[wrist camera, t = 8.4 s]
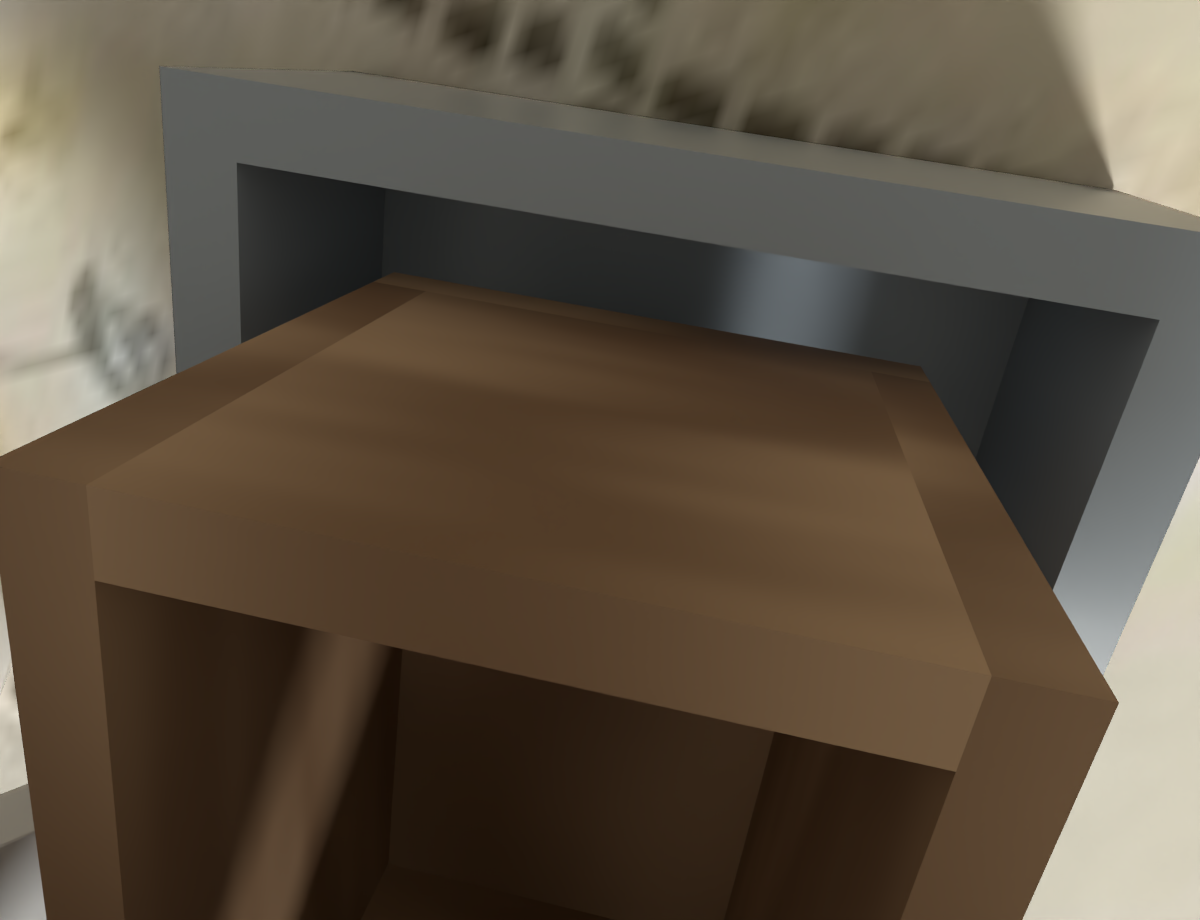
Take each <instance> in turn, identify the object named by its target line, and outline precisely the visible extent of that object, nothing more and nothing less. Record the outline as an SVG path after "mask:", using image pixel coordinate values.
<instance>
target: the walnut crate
mask: <svg viewBox="0 0 1200 920" xmlns="http://www.w3.org/2000/svg"><path fill="white" fill-rule="evenodd" d="M0 578H1V585H2V593H3V600H4V608H5V615H6V622H7V630H8V637H9V645H10V652H11V659H12V667H13V674H14V682H15V689H16V697H17V704H18V711H19V719H20V726H21V734H22V741H23V748H24V756H25V763H26V771H27V778H28V785H29V793H30V800H31V808H32V815H33V822H34V830H35V837H36V845H37V852H38V859H39V867H40V874H41V882H42V889H43V896H44V904H45V911H46V919H47V920H1022V919H1023V917H1024V914H1025V912H1026V910H1027V908H1028V905H1029V903H1030V901H1031V899H1032V897H1033V894H1034V892H1035V890H1036V888H1037V885H1038V883H1039V881H1040V879H1041V876H1042V874H1043V872H1044V870H1045V867H1046V865H1047V863H1048V861H1049V858H1050V856H1051V854H1052V852H1053V849H1054V847H1055V845H1056V843H1057V840H1058V838H1059V836H1060V834H1061V831H1062V829H1063V827H1064V825H1065V822H1066V820H1067V818H1068V816H1069V814H1070V811H1071V809H1072V807H1073V805H1074V802H1075V800H1076V798H1077V796H1078V793H1079V791H1080V789H1081V787H1082V784H1083V782H1084V780H1085V778H1086V775H1087V773H1088V771H1089V769H1090V766H1091V764H1092V762H1093V760H1094V757H1095V755H1096V753H1097V751H1098V748H1099V746H1100V744H1101V742H1102V739H1103V737H1104V735H1105V733H1106V730H1107V728H1108V726H1109V724H1110V722H1111V719H1112V717H1113V715H1114V713H1115V710H1116V708H1117V706H1118V704H1119V702H1118V701H1117V699H1116V697H1115V695H1114V694H1113V692H1112V690H1111V689H1110V687H1109V685H1108V684H1107V682H1106V680H1105V678H1104V677H1103V675H1102V673H1101V672H1100V670H1099V668H1098V667H1097V665H1096V663H1095V662H1094V660H1093V658H1092V656H1091V655H1090V653H1089V651H1088V650H1087V648H1086V646H1085V645H1084V643H1083V641H1082V639H1081V638H1080V636H1079V634H1078V633H1077V631H1076V629H1075V628H1074V626H1073V624H1072V622H1071V621H1070V619H1069V617H1068V616H1067V614H1066V612H1065V611H1064V609H1063V607H1062V605H1061V604H1060V602H1059V600H1058V599H1057V597H1056V595H1055V594H1054V592H1053V590H1052V588H1051V587H1050V585H1049V583H1048V582H1047V580H1046V578H1045V577H1044V575H1043V573H1042V571H1041V570H1040V568H1039V566H1038V565H1037V563H1036V561H1035V560H1034V558H1033V556H1032V554H1031V553H1030V551H1029V549H1028V548H1027V546H1026V544H1025V543H1024V541H1023V539H1022V538H1021V536H1020V534H1019V532H1018V531H1017V529H1016V527H1015V526H1014V524H1013V522H1012V521H1011V519H1010V517H1009V515H1008V514H1007V512H1006V510H1005V509H1004V507H1003V505H1002V504H1001V502H1000V500H999V498H998V497H997V495H996V493H995V492H994V490H993V488H992V487H991V485H990V483H989V481H988V480H987V478H986V476H985V475H984V473H983V471H982V470H981V468H980V466H979V464H978V463H977V461H976V459H975V458H974V456H973V454H972V453H971V451H970V449H969V447H968V446H967V444H966V442H965V441H964V439H963V437H962V436H961V434H960V432H959V430H958V429H957V427H956V425H955V424H954V422H953V420H952V419H951V417H950V415H949V414H948V412H947V410H946V408H945V407H944V405H943V403H942V402H941V400H940V398H939V397H938V395H937V393H936V391H935V390H934V388H933V386H932V385H931V383H930V381H929V380H928V378H927V376H926V374H925V373H924V371H923V369H922V368H921V366H916V365H910V364H904V363H899V362H893V361H888V360H882V359H877V358H871V357H865V356H860V355H854V354H849V353H843V352H837V351H832V350H826V349H821V348H815V347H809V346H804V345H798V344H793V343H787V342H782V341H776V340H770V339H765V338H759V337H754V336H748V335H742V334H737V333H731V332H726V331H720V330H715V329H709V328H703V327H698V326H692V325H687V324H681V323H675V322H670V321H664V320H659V319H653V318H647V317H642V316H636V315H631V314H625V313H620V312H614V311H608V310H603V309H597V308H592V307H586V306H580V305H575V304H569V303H564V302H558V301H552V300H547V299H541V298H536V297H530V296H525V295H519V294H513V293H508V292H502V291H497V290H491V289H485V288H480V287H474V286H469V285H463V284H458V283H452V282H446V281H441V280H435V279H430V278H424V277H418V276H413V275H407V274H402V273H396V272H393V273H391V274H389V275H387V276H385V277H383V278H380V279H378V280H376V281H374V282H372V283H370V284H368V285H365V286H363V287H361V288H359V289H357V290H355V291H353V292H350V293H348V294H346V295H344V296H342V297H340V298H338V299H336V300H333V301H331V302H329V303H327V304H325V305H323V306H321V307H318V308H316V309H314V310H312V311H310V312H308V313H306V314H304V315H301V316H299V317H297V318H295V319H293V320H291V321H289V322H286V323H284V324H282V325H280V326H278V327H276V328H274V329H272V330H269V331H267V332H265V333H263V334H261V335H259V336H257V337H254V338H252V339H250V340H248V341H246V342H244V343H242V344H239V345H237V346H235V347H233V348H231V349H229V350H227V351H225V352H222V353H220V354H218V355H216V356H214V357H212V358H210V359H207V360H205V361H203V362H201V363H199V364H197V365H195V366H193V367H190V368H188V369H186V370H184V371H182V372H180V373H178V374H175V375H173V376H171V377H169V378H167V379H165V380H163V381H161V382H158V383H156V384H154V385H152V386H150V387H148V388H146V389H143V390H141V391H139V392H137V393H135V394H133V395H131V396H129V397H126V398H124V399H122V400H120V401H118V402H116V403H114V404H111V405H109V406H107V407H105V408H103V409H101V410H99V411H96V412H94V413H92V414H90V415H88V416H86V417H84V418H82V419H79V420H77V421H75V422H73V423H71V424H69V425H67V426H64V427H62V428H60V429H58V430H56V431H54V432H52V433H50V434H47V435H45V436H43V437H41V438H39V439H37V440H35V441H32V442H30V443H28V444H26V445H24V446H22V447H20V448H18V449H15V450H13V451H11V452H9V453H7V454H5V455H3V456H0Z"/></svg>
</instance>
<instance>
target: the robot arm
mask: <svg viewBox="0 0 1200 920" xmlns="http://www.w3.org/2000/svg"><path fill="white" fill-rule="evenodd" d="M0 920H47V919H46V911H45V904H44V896H43V889H42V882H41V874H40V867H39V859H38V852H37V845H36V837H35V830H34V822H33V815H32V808H31V800H30V793H29V785H28V784H26V785H23V786H21V787H18V788H16V789H13V790H11V791H8V792H5V793H3V794H0Z"/></svg>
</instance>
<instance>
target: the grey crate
mask: <svg viewBox="0 0 1200 920" xmlns="http://www.w3.org/2000/svg"><path fill="white" fill-rule="evenodd" d="M159 67H160V85H161V103H162V121H163V139H164V157H165V175H166V193H167V211H168V229H169V247H170V265H171V283H172V301H173V319H174V337H175V355H176V373H177V374H178V373H180V372H182V371H184V370H186V369H188V368H190V367H193V366H195V365H197V364H199V363H201V362H203V361H205V360H207V359H210V358H212V357H214V356H216V355H218V354H220V353H222V352H225V351H227V350H229V349H231V348H233V347H235V346H237V345H239V344H242V343H244V342H246V341H248V340H250V339H252V338H254V337H257V336H259V335H261V334H263V333H265V332H267V331H269V330H272V329H274V328H276V327H278V326H280V325H282V324H284V323H286V322H289V321H291V320H293V319H295V318H297V317H299V316H301V315H304V314H306V313H308V312H310V311H312V310H314V309H316V308H318V307H321V306H323V305H325V304H327V303H329V302H331V301H333V300H336V299H338V298H340V297H342V296H344V295H346V294H348V293H350V292H353V291H355V290H357V289H359V288H361V287H363V286H365V285H368V284H370V283H372V282H374V281H376V280H378V279H380V278H383V277H385V276H387V275H389V274H391V273H393V272H396V273H402V274H407V275H413V276H418V277H424V278H430V279H435V280H441V281H446V282H452V283H458V284H463V285H469V286H474V287H480V288H485V289H491V290H497V291H502V292H508V293H513V294H519V295H525V296H530V297H536V298H541V299H547V300H552V301H558V302H564V303H569V304H575V305H580V306H586V307H592V308H597V309H603V310H608V311H614V312H620V313H625V314H631V315H636V316H642V317H647V318H653V319H659V320H664V321H670V322H675V323H681V324H687V325H692V326H698V327H703V328H709V329H715V330H720V331H726V332H731V333H737V334H742V335H748V336H754V337H759V338H765V339H770V340H776V341H782V342H787V343H793V344H798V345H804V346H809V347H815V348H821V349H826V350H832V351H837V352H843V353H849V354H854V355H860V356H865V357H871V358H877V359H882V360H888V361H893V362H899V363H904V364H910V365H916V366H921V368H922V369H923V371H924V373H925V374H926V376H927V378H928V380H929V381H930V383H931V385H932V386H933V388H934V390H935V391H936V393H937V395H938V397H939V398H940V400H941V402H942V403H943V405H944V407H945V408H946V410H947V412H948V414H949V415H950V417H951V419H952V420H953V422H954V424H955V425H956V427H957V429H958V430H959V432H960V434H961V436H962V437H963V439H964V441H965V442H966V444H967V446H968V447H969V449H970V451H971V453H972V454H973V456H974V458H975V459H976V461H977V463H978V464H979V466H980V468H981V470H982V471H983V473H984V475H985V476H986V478H987V480H988V481H989V483H990V485H991V487H992V488H993V490H994V492H995V493H996V495H997V497H998V498H999V500H1000V502H1001V504H1002V505H1003V507H1004V509H1005V510H1006V512H1007V514H1008V515H1009V517H1010V519H1011V521H1012V522H1013V524H1014V526H1015V527H1016V529H1017V531H1018V532H1019V534H1020V536H1021V538H1022V539H1023V541H1024V543H1025V544H1026V546H1027V548H1028V549H1029V551H1030V553H1031V554H1032V556H1033V558H1034V560H1035V561H1036V563H1037V565H1038V566H1039V568H1040V570H1041V571H1042V573H1043V575H1044V577H1045V578H1046V580H1047V582H1048V583H1049V585H1050V587H1051V588H1052V590H1053V592H1054V594H1055V595H1056V597H1057V599H1058V600H1059V602H1060V604H1061V605H1062V607H1063V609H1064V611H1065V612H1066V614H1067V616H1068V617H1069V619H1070V621H1071V622H1072V624H1073V626H1074V628H1075V629H1076V631H1077V633H1078V634H1079V636H1080V638H1081V639H1082V641H1083V643H1084V645H1085V646H1086V648H1087V650H1088V651H1089V653H1090V655H1091V656H1092V658H1093V660H1094V662H1095V663H1096V665H1097V667H1098V668H1099V670H1100V672H1101V673H1102V675H1103V674H1104V672H1105V670H1106V667H1107V665H1108V663H1109V661H1110V658H1111V656H1112V654H1113V652H1114V649H1115V647H1116V645H1117V643H1118V640H1119V638H1120V636H1121V634H1122V631H1123V629H1124V627H1125V624H1126V622H1127V620H1128V618H1129V615H1130V613H1131V611H1132V609H1133V606H1134V604H1135V602H1136V600H1137V597H1138V595H1139V593H1140V591H1141V588H1142V586H1143V584H1144V581H1145V579H1146V577H1147V575H1148V572H1149V570H1150V568H1151V566H1152V563H1153V561H1154V559H1155V557H1156V554H1157V552H1158V550H1159V548H1160V545H1161V543H1162V541H1163V538H1164V536H1165V534H1166V532H1167V529H1168V527H1169V525H1170V523H1171V520H1172V518H1173V516H1174V514H1175V511H1176V509H1177V507H1178V504H1179V502H1180V500H1181V498H1182V495H1183V493H1184V491H1185V489H1186V486H1187V484H1188V482H1189V480H1190V477H1191V475H1192V473H1193V471H1194V468H1195V466H1196V464H1197V461H1198V459H1199V457H1200V217H1198V216H1195V215H1192V214H1189V213H1186V212H1182V211H1179V210H1176V209H1173V208H1170V207H1167V206H1164V205H1161V204H1157V203H1154V202H1151V201H1148V200H1145V199H1142V198H1139V197H1135V196H1132V195H1129V194H1126V193H1123V192H1120V191H1117V190H1110V189H1104V188H1098V187H1091V186H1085V185H1078V184H1072V183H1066V182H1059V181H1053V180H1046V179H1040V178H1033V177H1027V176H1021V175H1014V174H1008V173H1001V172H995V171H989V170H982V169H976V168H969V167H963V166H957V165H950V164H944V163H937V162H931V161H924V160H918V159H912V158H905V157H899V156H892V155H886V154H880V153H873V152H867V151H860V150H854V149H848V148H841V147H835V146H828V145H822V144H815V143H809V142H803V141H796V140H790V139H783V138H777V137H771V136H764V135H758V134H751V133H745V132H738V131H732V130H726V129H719V128H713V127H706V126H700V125H694V124H687V123H681V122H674V121H668V120H662V119H655V118H649V117H642V116H636V115H629V114H623V113H617V112H610V111H604V110H597V109H591V108H585V107H578V106H572V105H565V104H559V103H552V102H546V101H540V100H533V99H527V98H520V97H514V96H508V95H501V94H495V93H488V92H482V91H476V90H469V89H463V88H456V87H450V86H443V85H437V84H431V83H424V82H418V81H411V80H405V79H399V78H392V77H386V76H379V75H373V74H367V73H360V72H354V71H320V70H283V69H246V68H209V67H173V66H159Z"/></svg>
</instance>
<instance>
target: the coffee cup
mask: <svg viewBox="0 0 1200 920" xmlns="http://www.w3.org/2000/svg"><path fill="white" fill-rule="evenodd" d="M11 668H12V659H11V652H10V645H9V637H8V630H7V622H6V615H5V608H4V600H3V593H2V585H1V578H0V694H1V692H2V689H3V687H4V685H5V682H6V680H7V677H8V675H9V673H10V670H11Z"/></svg>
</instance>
